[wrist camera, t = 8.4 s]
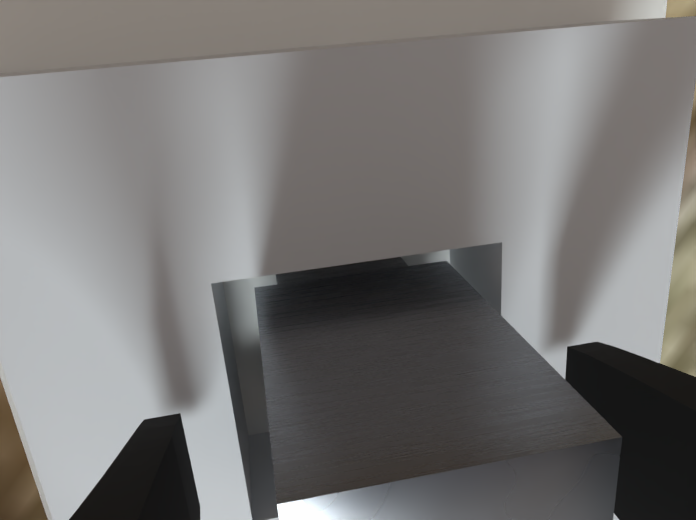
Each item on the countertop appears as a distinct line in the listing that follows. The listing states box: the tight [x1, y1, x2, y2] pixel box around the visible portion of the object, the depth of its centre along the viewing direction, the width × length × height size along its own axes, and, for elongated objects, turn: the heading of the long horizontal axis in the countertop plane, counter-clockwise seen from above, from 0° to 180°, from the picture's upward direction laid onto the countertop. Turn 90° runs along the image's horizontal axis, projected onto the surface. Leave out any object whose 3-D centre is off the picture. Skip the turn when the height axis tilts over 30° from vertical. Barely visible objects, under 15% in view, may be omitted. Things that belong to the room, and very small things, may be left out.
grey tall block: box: [254, 257, 622, 520], centre depth 11 cm, size 4×4×8 cm
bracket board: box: [0, 0, 696, 520], centre depth 14 cm, size 18×16×4 cm
